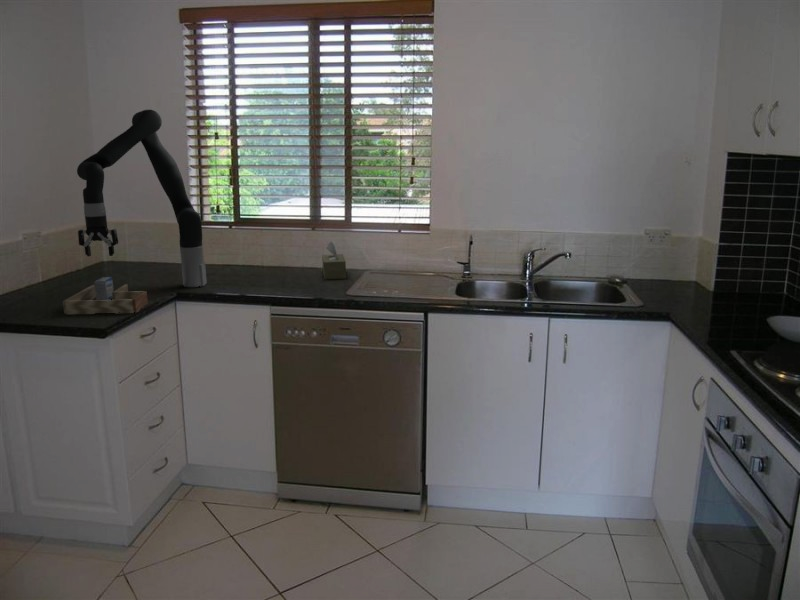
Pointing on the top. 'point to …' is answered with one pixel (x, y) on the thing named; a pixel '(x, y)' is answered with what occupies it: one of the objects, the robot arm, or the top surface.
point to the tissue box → (333, 264)
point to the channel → (105, 302)
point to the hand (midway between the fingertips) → (100, 255)
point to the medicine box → (104, 288)
